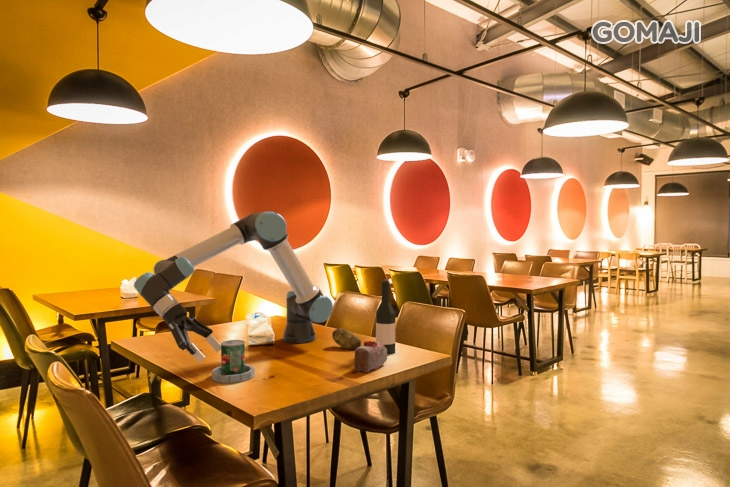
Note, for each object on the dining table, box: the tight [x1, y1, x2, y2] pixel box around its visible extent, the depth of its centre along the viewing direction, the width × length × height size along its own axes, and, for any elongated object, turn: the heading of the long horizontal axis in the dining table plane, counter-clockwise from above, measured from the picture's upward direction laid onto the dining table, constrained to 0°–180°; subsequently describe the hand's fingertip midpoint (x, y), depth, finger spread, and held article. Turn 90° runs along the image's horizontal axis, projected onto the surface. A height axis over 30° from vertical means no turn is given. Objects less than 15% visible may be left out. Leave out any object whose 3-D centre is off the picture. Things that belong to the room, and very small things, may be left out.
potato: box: [331, 327, 362, 350], centre depth 199 cm, size 8×13×8 cm, turn 43°
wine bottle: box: [375, 279, 396, 355], centre depth 191 cm, size 8×8×30 cm
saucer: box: [211, 363, 256, 384], centre depth 159 cm, size 14×14×2 cm
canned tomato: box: [220, 339, 246, 375], centre depth 159 cm, size 8×8×11 cm
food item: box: [353, 340, 388, 373], centre depth 170 cm, size 14×8×10 cm, turn 151°
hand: (211, 354), depth 159 cm, fingers open, 13 cm apart
